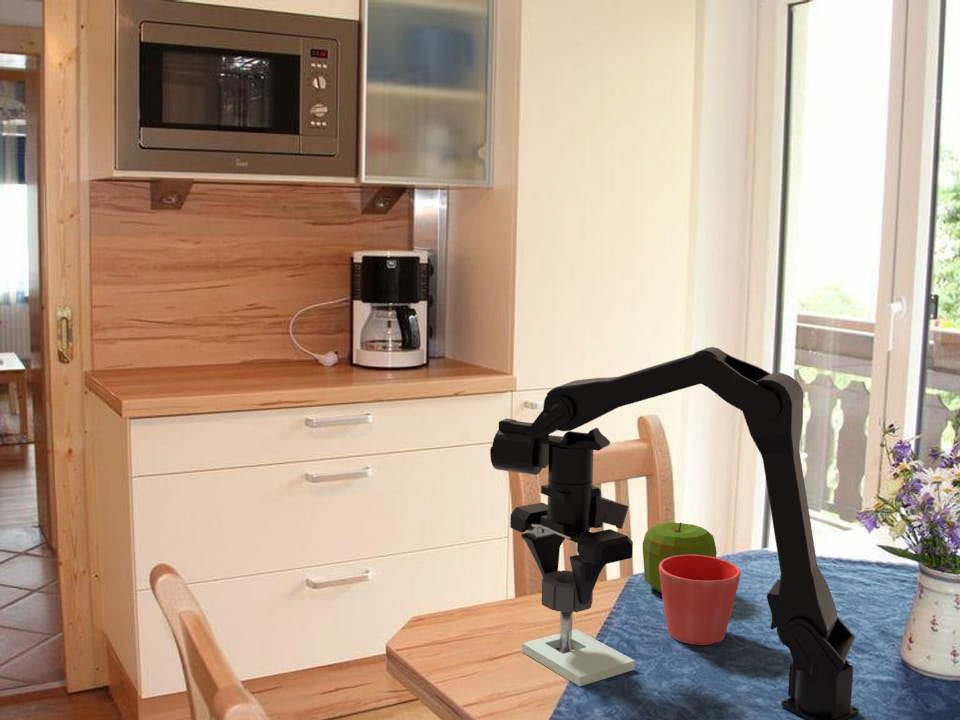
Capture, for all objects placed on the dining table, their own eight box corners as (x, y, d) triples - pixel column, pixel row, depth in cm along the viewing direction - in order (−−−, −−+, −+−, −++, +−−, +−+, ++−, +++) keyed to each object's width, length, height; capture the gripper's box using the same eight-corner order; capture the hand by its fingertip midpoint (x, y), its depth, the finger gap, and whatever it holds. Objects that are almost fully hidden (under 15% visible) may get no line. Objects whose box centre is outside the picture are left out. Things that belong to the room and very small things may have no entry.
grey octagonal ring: (601, 605, 138) (602, 581, 137) (562, 615, 134) (563, 591, 134) (571, 590, 143) (571, 567, 143) (532, 599, 139) (533, 576, 139)
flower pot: (738, 653, 141) (742, 583, 139) (654, 645, 143) (657, 576, 141) (735, 623, 151) (739, 557, 149) (657, 616, 153) (660, 551, 152)
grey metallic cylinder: (573, 654, 139) (575, 610, 139) (564, 657, 139) (565, 613, 138) (566, 650, 141) (567, 607, 140) (556, 652, 140) (558, 609, 139)
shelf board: (634, 669, 135) (635, 660, 135) (579, 686, 130) (579, 677, 130) (575, 637, 145) (575, 628, 145) (522, 651, 140) (522, 643, 140)
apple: (723, 586, 166) (726, 518, 164) (700, 608, 156) (703, 537, 155) (656, 572, 171) (658, 507, 170) (630, 593, 162) (632, 524, 160)
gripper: (667, 487, 133) (662, 606, 135) (573, 457, 148) (571, 564, 151) (598, 499, 127) (595, 624, 129) (508, 467, 142) (507, 578, 144)
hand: (567, 595), depth 138 cm, fingers closed on grey octagonal ring, 6 cm apart
